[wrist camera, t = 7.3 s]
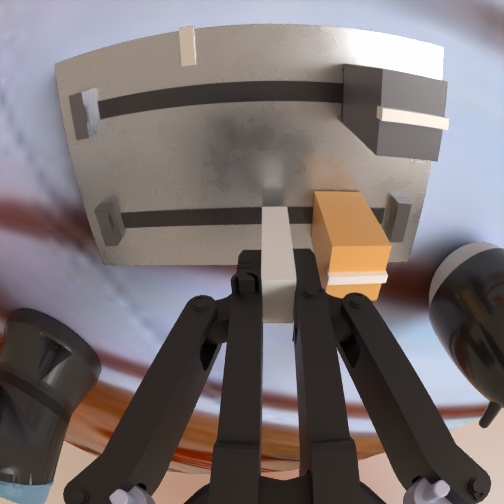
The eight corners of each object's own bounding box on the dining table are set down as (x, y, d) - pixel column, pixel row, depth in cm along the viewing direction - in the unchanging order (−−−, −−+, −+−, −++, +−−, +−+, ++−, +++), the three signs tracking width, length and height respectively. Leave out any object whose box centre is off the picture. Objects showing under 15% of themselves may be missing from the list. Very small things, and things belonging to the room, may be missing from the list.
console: (113, 252, 25) (100, 274, 22) (70, 58, 15) (45, 62, 13) (398, 249, 24) (411, 272, 21) (428, 43, 14) (451, 45, 12)
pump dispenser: (396, 304, 27) (443, 449, 15) (446, 212, 21) (549, 362, 9) (465, 311, 28) (515, 426, 16) (513, 236, 22) (595, 351, 10)
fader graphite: (341, 123, 16) (377, 158, 11) (343, 63, 14) (384, 69, 9) (390, 127, 16) (442, 164, 11) (394, 70, 14) (453, 83, 9)
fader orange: (310, 239, 21) (324, 307, 16) (313, 191, 19) (332, 250, 14) (353, 239, 21) (379, 304, 16) (360, 192, 19) (394, 250, 14)
